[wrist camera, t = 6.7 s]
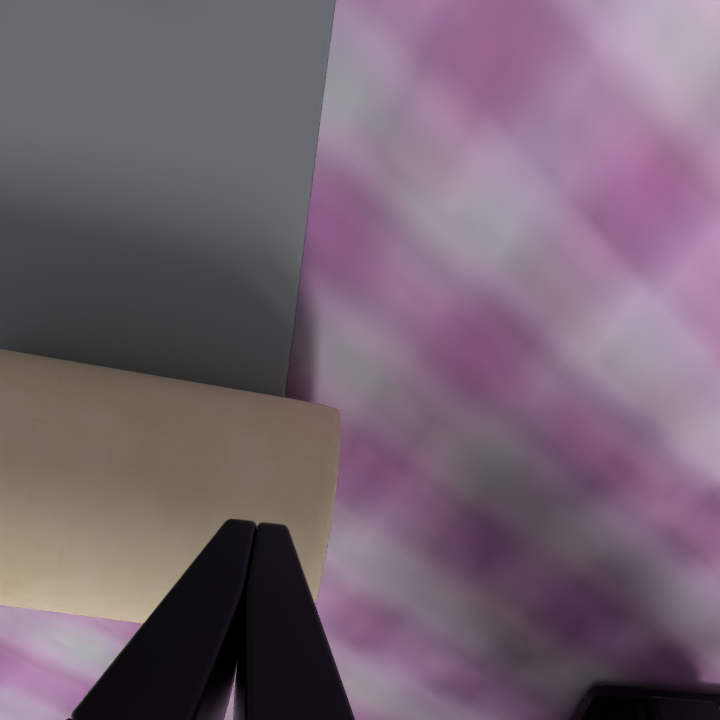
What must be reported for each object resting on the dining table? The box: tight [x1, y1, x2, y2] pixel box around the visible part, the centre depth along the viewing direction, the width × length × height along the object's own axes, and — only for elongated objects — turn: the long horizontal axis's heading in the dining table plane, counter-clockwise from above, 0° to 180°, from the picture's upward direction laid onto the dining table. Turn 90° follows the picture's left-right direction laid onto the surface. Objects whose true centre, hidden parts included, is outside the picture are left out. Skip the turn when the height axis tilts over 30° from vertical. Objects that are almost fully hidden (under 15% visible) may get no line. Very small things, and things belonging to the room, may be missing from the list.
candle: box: [0, 349, 340, 623], centre depth 16 cm, size 6×6×10 cm
